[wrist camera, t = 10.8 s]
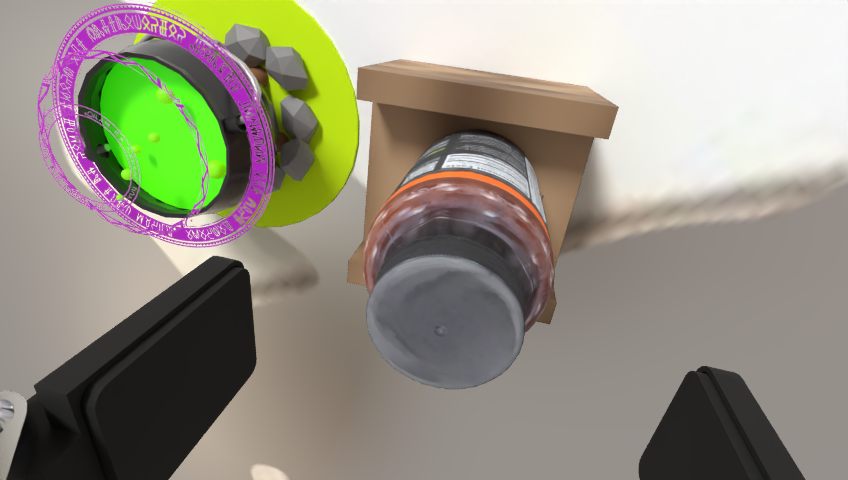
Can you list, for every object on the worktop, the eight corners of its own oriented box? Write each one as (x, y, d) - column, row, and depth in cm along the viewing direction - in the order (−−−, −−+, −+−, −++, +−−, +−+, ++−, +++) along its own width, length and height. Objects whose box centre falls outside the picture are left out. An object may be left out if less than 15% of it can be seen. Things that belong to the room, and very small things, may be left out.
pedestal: (586, 86, 22) (618, 107, 16) (540, 253, 27) (549, 324, 20) (400, 59, 23) (358, 67, 17) (385, 224, 28) (347, 282, 21)
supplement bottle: (491, 264, 22) (475, 454, 12) (392, 204, 22) (289, 348, 12) (565, 170, 19) (624, 313, 9) (454, 99, 19) (390, 168, 9)
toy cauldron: (317, -60, 22) (161, -139, 12) (386, 211, 28) (318, 307, 18) (91, 10, 26) (-170, -6, 16) (193, 237, 31) (49, 328, 22)
